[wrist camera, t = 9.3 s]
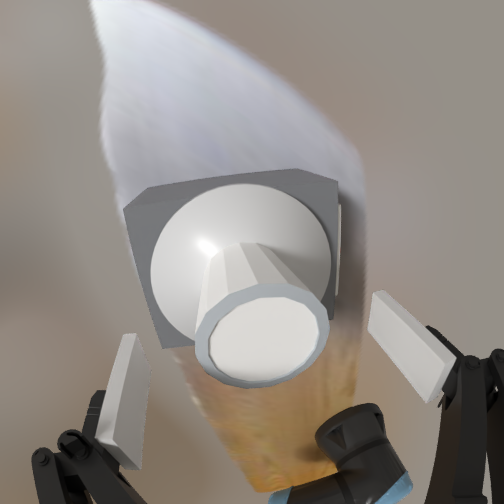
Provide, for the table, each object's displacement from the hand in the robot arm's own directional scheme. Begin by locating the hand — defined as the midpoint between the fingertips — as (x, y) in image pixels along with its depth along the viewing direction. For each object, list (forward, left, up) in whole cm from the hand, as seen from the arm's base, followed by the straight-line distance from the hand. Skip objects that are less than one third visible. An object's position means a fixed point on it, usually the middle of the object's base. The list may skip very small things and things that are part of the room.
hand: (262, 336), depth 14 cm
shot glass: (0, 0, -6) cm, 6 cm away
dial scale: (0, 0, -16) cm, 16 cm away
